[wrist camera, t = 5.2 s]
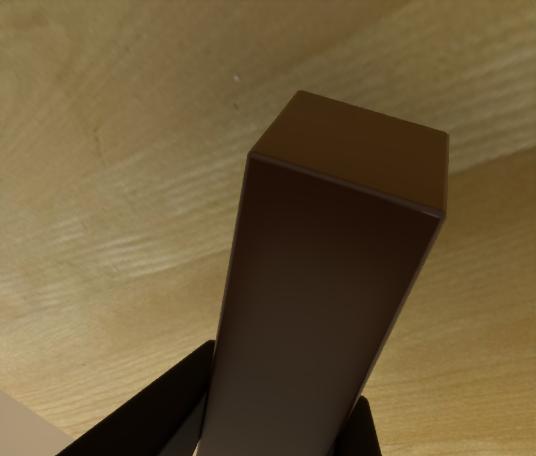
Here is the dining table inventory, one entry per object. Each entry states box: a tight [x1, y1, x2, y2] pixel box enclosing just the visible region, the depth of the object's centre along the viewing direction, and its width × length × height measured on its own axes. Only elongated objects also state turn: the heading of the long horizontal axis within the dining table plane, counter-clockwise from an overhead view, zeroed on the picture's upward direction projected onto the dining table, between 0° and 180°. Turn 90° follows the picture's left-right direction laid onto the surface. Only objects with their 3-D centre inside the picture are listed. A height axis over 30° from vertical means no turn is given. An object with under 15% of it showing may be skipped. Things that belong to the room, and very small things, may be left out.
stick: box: [196, 90, 449, 456], centre depth 9 cm, size 10×2×2 cm, turn 169°
